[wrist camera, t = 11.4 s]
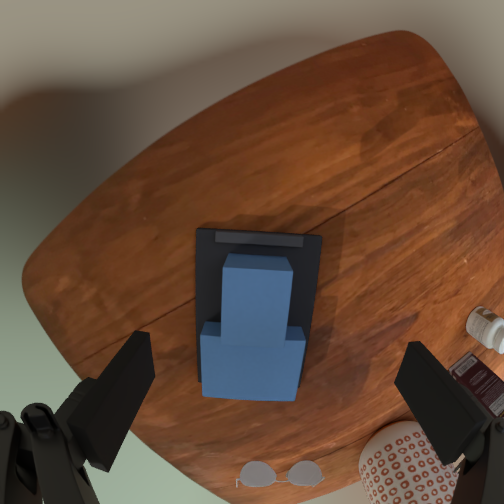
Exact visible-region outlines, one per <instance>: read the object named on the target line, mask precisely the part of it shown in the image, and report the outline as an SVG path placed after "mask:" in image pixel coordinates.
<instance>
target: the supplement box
mask: <svg viewBox="0 0 504 504" xmlns="http://www.w3.org/2000/svg"><path fill="white" fill-rule="evenodd" d="M449 371H450V374H451V375H452V377H453V378H454V379H455V380H456V381H457V382H458V383H459V384H462V385H463V386H465V387H466V388H468V389H469V390H470V391H471V392H472V394H473V395H474V396H475V397H476V398H477V399H478V401H479V402H480V403H481V404H482V405H483V406H484V408H485V409H486V410H487V411H488V412H489V414H490V415H491V416H492V417H493V418H497V417H502V418H504V381H502V380H501V379H500V378H499V377H498V376H497V375H496V374H495V373H494V372H493V371H492V370H490V369H489V368H488V367H487V366H486V365H485V364H484V363H483V362H482V361H480V360H479V359H478V358H477V357H476V356H475V355H473V354H472V353H471V352H468V353H467V354H466V355H465V356H464V357H462V358H461V359H460V360H459V361H458V362H456V363H455V364H454V365H453V366H452V367H450V368H449Z"/></svg>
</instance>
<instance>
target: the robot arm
mask: <svg viewBox="0 0 504 504" xmlns="http://www.w3.org/2000/svg"><path fill="white" fill-rule="evenodd" d="M154 378H155V372H154V365H153V358H152V350H151V342H150V333H149V332H143V331H136V330H135V331H134V332H133V334H132V335H131V336H130V337H129V339H128V340H127V341H126V343H125V344H124V345H123V346H122V348H121V349H120V350H119V351H118V353H117V354H116V355H115V356H114V358H113V359H112V360H111V362H110V363H109V364H108V366H107V367H106V368H105V369H104V371H103V372H102V373H101V375H100V376H99V377H98V379H97V380H96V379H93V378H90V377H88V378H86V379H85V380H83V381H81V382H80V383H79V384H78V385H77V386H76V387H75V389H74V390H73V392H71V394H70V395H69V397H68V398H67V399H66V400H65V401H64V402H63V404H62V405H61V406H60V408H59V409H58V410H57V412H56V413H55V414H53V412H52V410H51V408H50V407H49V406H47V405H46V404H43V403H33V404H29V405H28V406H26V407H25V408H24V409H23V410H22V412H21V419H22V421H23V423H24V424H23V423H19V422H17V421H16V420H15V418H14V416H13V415H12V414H11V413H9V412H6V411H0V504H43V501H44V504H100V503H99V501H98V499H97V497H96V495H95V492H94V490H93V487H92V485H91V482H90V480H89V477H88V475H87V472H86V469H85V467H84V466H83V464H84V462H85V460H86V459H87V460H88V462H89V463H90V465H91V466H92V467H95V468H97V469H100V470H103V471H105V472H109V471H110V468H111V466H112V464H113V462H114V460H115V458H116V456H117V454H118V451H119V449H120V447H121V445H122V443H123V441H124V439H125V437H126V434H127V433H128V431H129V428H130V426H131V424H132V422H133V420H134V418H135V416H136V414H137V412H138V410H139V408H140V406H141V404H142V402H143V400H144V398H145V396H146V394H147V392H148V390H149V388H150V386H151V384H152V382H153V380H154ZM394 384H395V385H396V387H397V388H398V390H399V392H400V393H401V395H402V396H403V398H404V400H405V401H406V403H407V405H408V406H409V408H410V409H411V411H412V413H413V414H414V416H415V418H416V420H417V421H418V423H419V425H420V426H421V428H422V430H423V431H424V433H425V435H426V437H427V438H428V440H429V442H430V444H431V445H432V447H433V449H434V451H435V452H436V454H437V456H438V458H439V460H440V461H441V463H442V465H443V467H444V466H446V465H449V464H451V463H453V462H456V460H457V459H458V458H459V457H460V456H461V454H462V453H463V454H464V455H465V458H464V459H463V460H462V461H461V462H460V463H459V465H458V466H457V467H456V468H455V469H454V471H453V473H455V472H456V471H457V470H458V469H459V468H460V471H459V472H458V473H457V474H459V475H458V479H457V483H456V487H455V490H454V494H453V497H452V500H451V503H450V504H504V418H502V417H497V418H493V417H492V416H491V415H490V414H489V412H488V411H487V410H486V409H485V408H484V406H483V405H482V404H481V403H480V402H479V401H478V399H477V398H476V397H475V396H474V395H473V394H472V392H471V391H470V390H469V389H468V388H466V387H465V386H463V385H462V384H459V383H458V382H457V381H456V380H455V379H454V378H453V377H452V375H451V374H450V373H449V372H448V371H447V370H446V369H445V368H444V367H443V365H442V364H441V363H440V362H439V361H438V360H437V359H436V358H435V357H434V356H433V355H432V353H431V352H430V351H429V350H428V349H427V348H426V347H425V346H424V345H423V344H422V343H421V342H420V341H415V342H409V343H408V346H407V349H406V352H405V355H404V358H403V361H402V363H401V366H400V369H399V371H398V374H397V377H396V379H395V382H394ZM42 497H43V500H42Z"/></svg>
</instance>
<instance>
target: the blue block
mask: <svg viewBox="0 0 504 504" xmlns="http://www.w3.org/2000/svg"><path fill="white" fill-rule="evenodd" d="M292 279H293V270H292V268H291V266H290V264H289V262H288V260H287V257H280V256H264V255H249V254H233V253H229V254H228V256H227V259H226V261H225V263H224V266H223V275H222V307H221V344H224V345H237V346H252V347H273V348H284V345H285V337H286V330H287V322H288V314H289V305H290V297H291V288H292Z"/></svg>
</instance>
